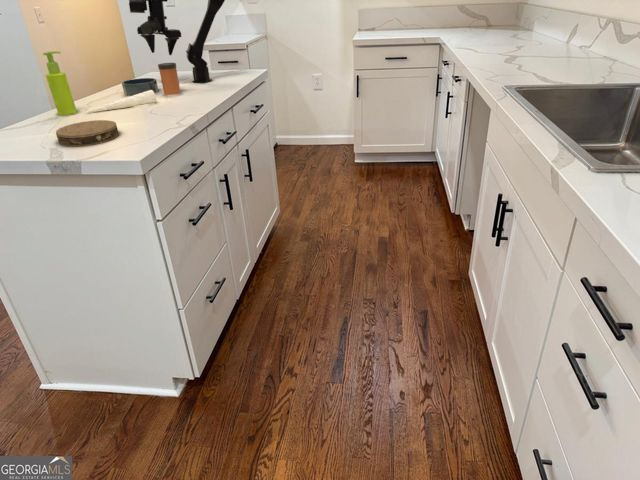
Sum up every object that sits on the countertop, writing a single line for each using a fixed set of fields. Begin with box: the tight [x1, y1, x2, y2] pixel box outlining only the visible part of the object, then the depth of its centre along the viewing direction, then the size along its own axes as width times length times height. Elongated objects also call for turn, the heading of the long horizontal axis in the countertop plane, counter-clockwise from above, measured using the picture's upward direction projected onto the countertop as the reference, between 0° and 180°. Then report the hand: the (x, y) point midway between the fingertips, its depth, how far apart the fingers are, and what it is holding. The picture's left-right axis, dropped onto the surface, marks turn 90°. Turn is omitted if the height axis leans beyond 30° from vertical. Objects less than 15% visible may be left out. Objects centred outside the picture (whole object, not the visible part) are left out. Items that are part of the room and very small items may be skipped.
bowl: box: [121, 77, 159, 97], centre depth 181 cm, size 13×13×5 cm
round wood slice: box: [55, 119, 120, 148], centre depth 128 cm, size 16×16×3 cm
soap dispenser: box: [42, 50, 78, 116], centre depth 152 cm, size 6×7×20 cm
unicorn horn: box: [86, 90, 158, 113], centre depth 160 cm, size 5×24×5 cm, turn 118°
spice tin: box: [157, 62, 181, 96], centre depth 176 cm, size 7×7×12 cm
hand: (161, 53), depth 192 cm, fingers open, 9 cm apart
